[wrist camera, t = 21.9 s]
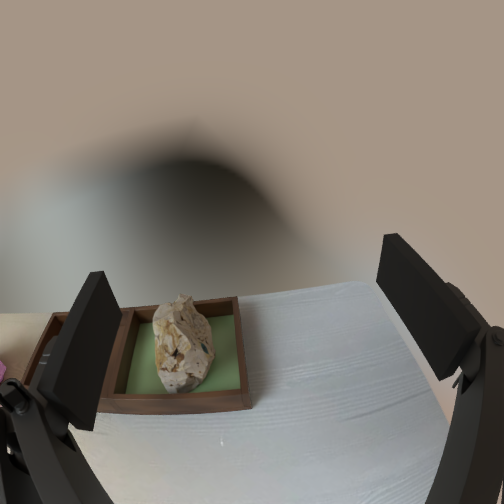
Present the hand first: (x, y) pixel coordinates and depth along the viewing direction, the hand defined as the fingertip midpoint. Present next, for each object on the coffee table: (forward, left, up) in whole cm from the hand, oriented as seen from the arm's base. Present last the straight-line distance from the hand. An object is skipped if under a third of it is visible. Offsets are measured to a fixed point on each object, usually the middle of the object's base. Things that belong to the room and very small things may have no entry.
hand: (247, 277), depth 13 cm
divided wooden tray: (+14, -17, -24) cm, 32 cm away
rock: (+5, -15, -23) cm, 28 cm away
